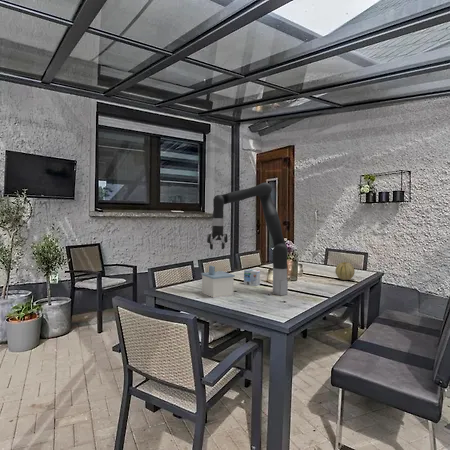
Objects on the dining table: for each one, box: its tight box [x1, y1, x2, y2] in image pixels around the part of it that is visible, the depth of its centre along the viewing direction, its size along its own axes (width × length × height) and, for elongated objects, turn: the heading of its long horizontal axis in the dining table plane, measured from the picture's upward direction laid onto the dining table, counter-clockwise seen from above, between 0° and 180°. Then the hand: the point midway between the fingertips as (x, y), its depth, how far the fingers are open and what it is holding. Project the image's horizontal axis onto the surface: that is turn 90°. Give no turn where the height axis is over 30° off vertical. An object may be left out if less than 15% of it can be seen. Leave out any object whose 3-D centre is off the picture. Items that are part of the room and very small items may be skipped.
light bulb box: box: [243, 268, 261, 287], centre depth 251 cm, size 11×7×11 cm, turn 62°
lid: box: [200, 265, 235, 279], centre depth 221 cm, size 16×16×7 cm
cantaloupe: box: [335, 261, 356, 281], centre depth 273 cm, size 15×15×15 cm
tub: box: [201, 275, 234, 299], centre depth 221 cm, size 15×15×12 cm
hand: (217, 249), depth 225 cm, fingers open, 8 cm apart
